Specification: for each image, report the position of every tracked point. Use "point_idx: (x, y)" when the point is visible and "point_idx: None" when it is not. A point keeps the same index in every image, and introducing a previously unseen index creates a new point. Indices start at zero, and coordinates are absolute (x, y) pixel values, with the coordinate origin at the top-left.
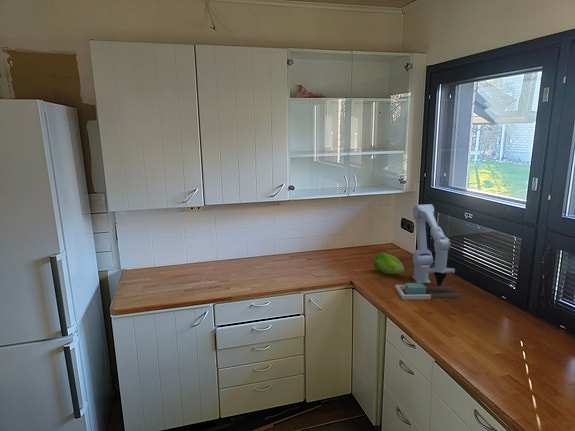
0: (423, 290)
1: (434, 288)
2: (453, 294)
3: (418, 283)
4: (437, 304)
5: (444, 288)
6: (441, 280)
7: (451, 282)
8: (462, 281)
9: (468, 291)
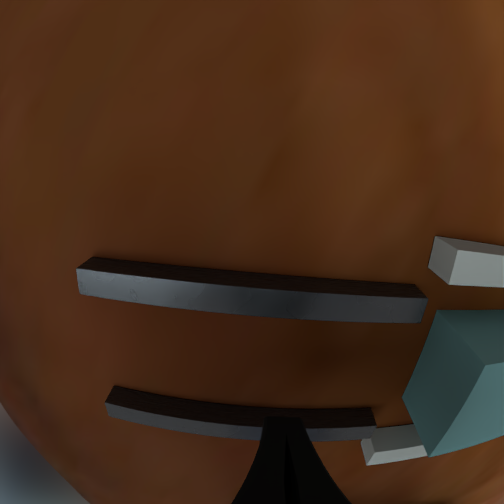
0: (487, 342)
1: None
2: (139, 276)
3: (464, 443)
4: (427, 99)
5: (184, 415)
6: (274, 487)
7: (101, 465)
8: (45, 449)
9: (14, 342)
